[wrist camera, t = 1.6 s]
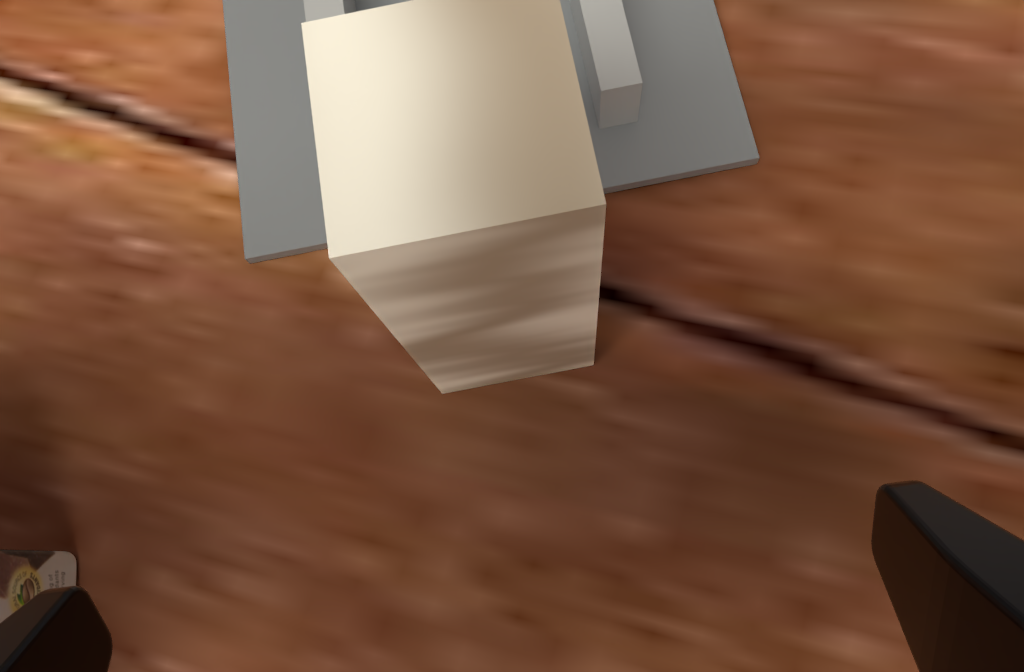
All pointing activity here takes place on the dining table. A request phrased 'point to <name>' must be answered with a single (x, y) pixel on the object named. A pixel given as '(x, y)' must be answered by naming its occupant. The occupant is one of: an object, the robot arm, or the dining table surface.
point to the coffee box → (32, 576)
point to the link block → (461, 183)
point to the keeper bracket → (601, 75)
